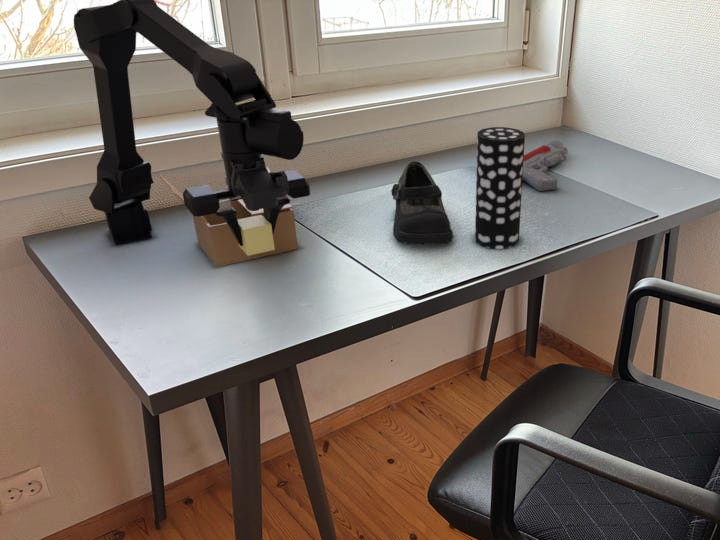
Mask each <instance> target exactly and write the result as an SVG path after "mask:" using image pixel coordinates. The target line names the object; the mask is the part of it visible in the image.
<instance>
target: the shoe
mask: <svg viewBox="0 0 720 540" xmlns="http://www.w3.org/2000/svg"><path fill="white" fill-rule="evenodd" d="M442 194H443V192H442V190H441V188H440V187H439V186H438V184H436V182H435V180H434V178H433V176H432V175H431V174H430V172H429V171H428V169H427V168H426V166H424V164H422V163H421V162H419V161H411V162H409V163H408V164H407V165H406V166H405V167H404V170H403V171H402V174H401V175H400V177H399V179H398V182H397V183H394V184H393V185H392V188H391V196H392V200H393V201H395V212H394V213H395V214H394V220H393V225H392V235H393V237H394V239H395V240H396V241H397V242H400V243H402V244H407V245H434V244H435V245H441V244H448V243H451V242H452V241H453V239H454V233H453V230H452V228H451V223H450V219H449V217H448V215H447V212H446V209H445V206H444V202H443V199H442Z"/></svg>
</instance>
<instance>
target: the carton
mask: <svg viewBox="0 0 720 540" xmlns="http://www.w3.org/2000/svg"><path fill="white" fill-rule="evenodd" d="M231 203H232V207H233V208H234V209H235V210H236V211H237V219H243V218H248V217H253V216H258V215H262V216H263V217H264V211H263V209H259V210H258V211H250V210H248V209H247V208H246V206H245V203H244V202H243V200H242V199H240V200H235V201H231ZM294 211H295V210H294V209H293V205H292V204H290V203H289V204H286V205H284V207H283V208H282V209H281V210H280V212H279V215H278V218H277V222H276V226H275V230H274V234H273V240H274V248H275V250H272V251H267V252H263V253H258V254H254V255H249V256H247V255H246V253H245V252H244V251H243V250H242V249H241V248H240V247H239V245H238V242H237V240H236V238H235V236H234V235H233V233H232V231H231V229H230V228H229V226H228V224H227V222H226V221H225V219H224V218H223V217H218V216H217V215H216V214H210V215H205V216H203V217H204V218H205V219H206V221H207V222H208V224H207V223H205V222H204V221H203V220H202V219H201V218H200V217H198V216H194V215H193V214H192V219H193V223H194V229H195V234H196V238H197V244H198V246H199V247H200V248H201V250H203V252H204V253H205V255H206V256H207V257H208V258H209V259H210V261H211V262H212V264H214V266H215V267H216V268H218V267H219V268H220V267H224V266H227V265H232V264H236V263H241V262H245V261H250V260H254V259H259V258H263V257H268V256H273V255H276V254H280V253H285V252H289V251H295V250H298V249H299V244H298V238H297V229H296V221H295V212H294Z"/></svg>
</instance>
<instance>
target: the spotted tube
mask: <svg viewBox="0 0 720 540" xmlns="http://www.w3.org/2000/svg"><path fill="white" fill-rule="evenodd" d="M525 141H526V133H525V132H524V131H522V130H520V129H517V128H513V127H505V126H491V127H486V128H482V129H479V130H478V131H477V134H476V181H475V222H474V223H475V224H474V225H475V227H474V229H475V230H474V242H475V243H476V244H478V245H479V246H481V247H483V248H487V249H492V250H493V249H494V250H504V249H509V248H513V247H515V246H517V245H518V244H519V242H520V229H521V211H522V195H523V194H522V193H523V180H522V177H523V160H524V155H525Z"/></svg>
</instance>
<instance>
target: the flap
mask: <svg viewBox="0 0 720 540" xmlns="http://www.w3.org/2000/svg"><path fill="white" fill-rule="evenodd" d="M157 176H158V177H159V178H160V180H161V181H162V182H163V183H164V184H165V185H166V186H167V188H168V189H169V190H170V191H171V192H172V194H173V195H174V196H175V197H177V198H178V200H180V201H181V202H182V203H183V204H184V205H185V203H184V199H183V193H181V192H180V191H179V190H177V188H175V187H174V185H172V184H171V183H170V182H169V180H167V179H165V177H164V176H162V175H161V174H160V173H158V174H157ZM199 217H200V218H201V219H202V220H203V221H204V222H205V223H207V224H208V222H207V221H206V219H205V218H204V217H203V216H199Z"/></svg>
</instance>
